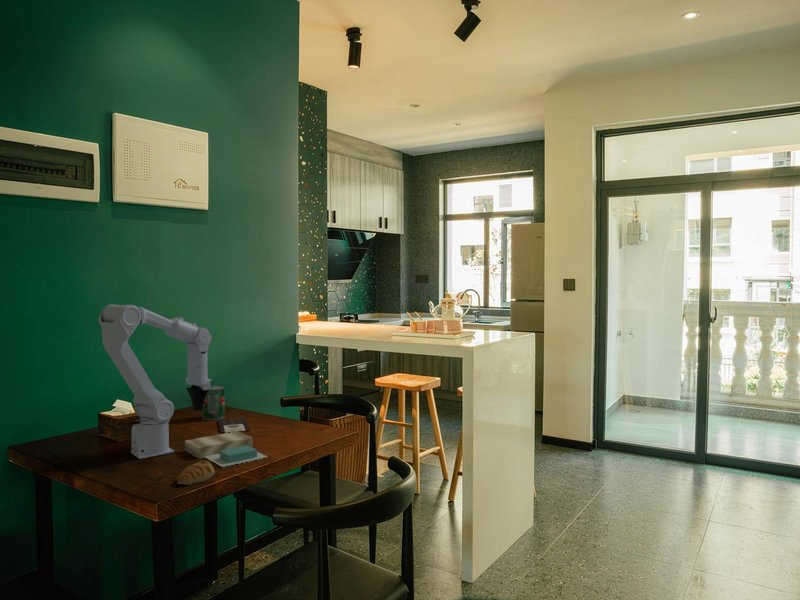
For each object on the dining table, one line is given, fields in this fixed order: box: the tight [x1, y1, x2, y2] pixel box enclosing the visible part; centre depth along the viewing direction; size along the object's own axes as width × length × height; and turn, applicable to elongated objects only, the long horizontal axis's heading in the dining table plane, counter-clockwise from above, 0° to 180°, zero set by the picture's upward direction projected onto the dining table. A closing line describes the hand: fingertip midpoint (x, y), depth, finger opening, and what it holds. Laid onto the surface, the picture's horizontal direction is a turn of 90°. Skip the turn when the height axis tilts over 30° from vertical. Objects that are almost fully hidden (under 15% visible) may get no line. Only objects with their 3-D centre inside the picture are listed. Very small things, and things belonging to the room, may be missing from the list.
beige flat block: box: [184, 431, 254, 460], centre depth 163 cm, size 16×10×3 cm, turn 131°
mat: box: [203, 451, 269, 468], centre depth 155 cm, size 13×12×1 cm
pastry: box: [176, 460, 216, 486], centre depth 138 cm, size 9×7×4 cm
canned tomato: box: [201, 385, 226, 421], centre depth 203 cm, size 8×8×11 cm
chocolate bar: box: [217, 417, 251, 434], centre depth 191 cm, size 9×1×18 cm
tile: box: [220, 445, 258, 463], centre depth 154 cm, size 8×6×2 cm
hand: (198, 410), depth 172 cm, fingers closed
